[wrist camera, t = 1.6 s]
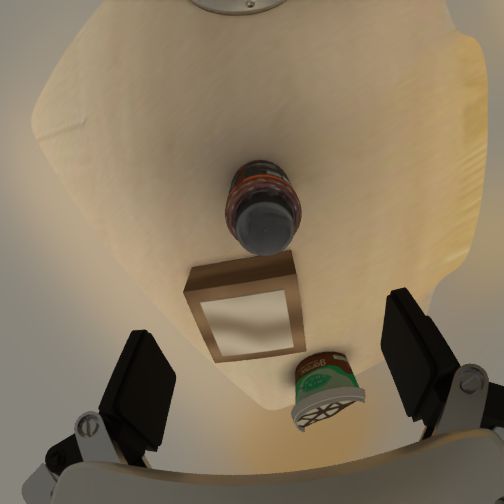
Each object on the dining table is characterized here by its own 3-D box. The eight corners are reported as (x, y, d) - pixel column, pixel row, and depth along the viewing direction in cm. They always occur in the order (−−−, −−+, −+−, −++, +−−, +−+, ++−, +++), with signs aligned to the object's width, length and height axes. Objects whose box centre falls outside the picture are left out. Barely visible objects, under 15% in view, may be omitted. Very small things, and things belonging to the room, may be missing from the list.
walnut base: (191, 267, 33) (182, 293, 28) (290, 250, 32) (296, 275, 27) (218, 336, 39) (214, 364, 34) (301, 324, 37) (306, 352, 33)
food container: (330, 334, 38) (345, 389, 30) (352, 350, 40) (368, 400, 32) (272, 373, 43) (274, 424, 34) (296, 385, 45) (301, 433, 36)
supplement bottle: (239, 218, 30) (231, 276, 20) (225, 166, 27) (208, 199, 17) (293, 207, 29) (313, 260, 19) (283, 153, 27) (300, 178, 17)
